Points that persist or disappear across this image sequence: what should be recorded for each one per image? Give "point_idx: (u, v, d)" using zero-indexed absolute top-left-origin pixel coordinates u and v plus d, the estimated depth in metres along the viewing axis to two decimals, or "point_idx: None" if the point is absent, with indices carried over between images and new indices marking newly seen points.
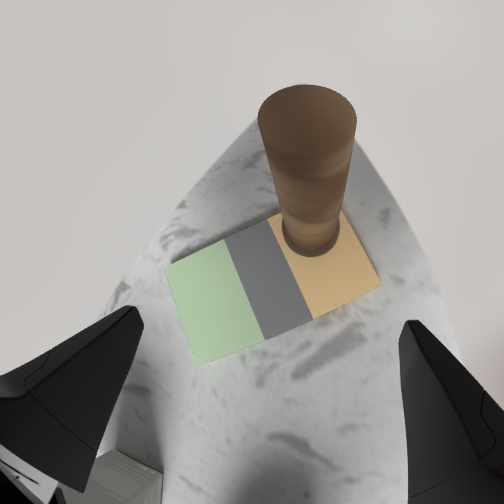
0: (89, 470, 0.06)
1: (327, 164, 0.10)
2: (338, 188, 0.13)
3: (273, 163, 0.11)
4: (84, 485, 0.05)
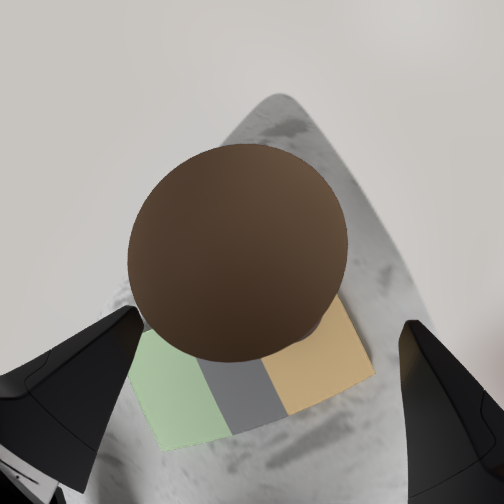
0: (88, 470, 0.06)
1: None
2: None
3: None
4: (84, 485, 0.05)
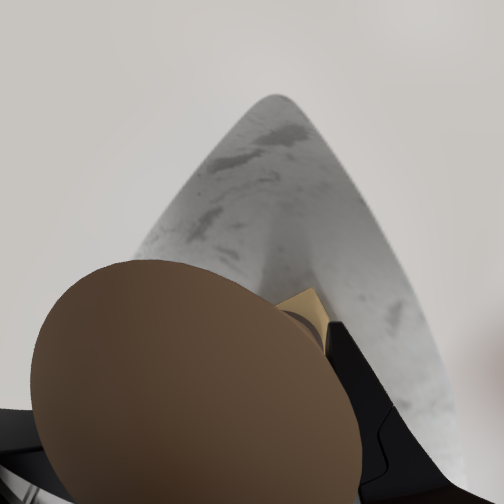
0: None
1: None
2: None
3: None
4: None
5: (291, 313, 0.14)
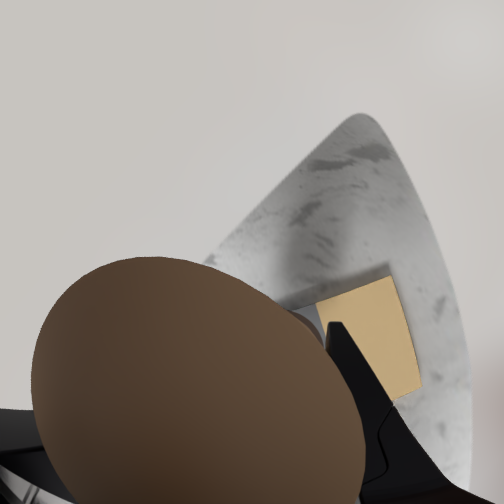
0: None
1: None
2: None
3: None
4: None
5: (292, 312, 0.14)
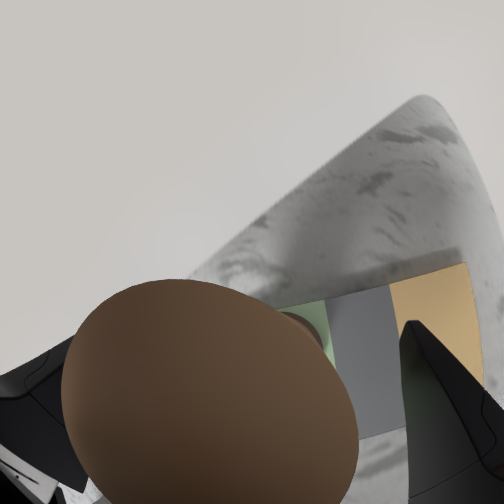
0: None
1: None
2: None
3: None
4: (84, 485, 0.05)
5: (292, 314, 0.14)
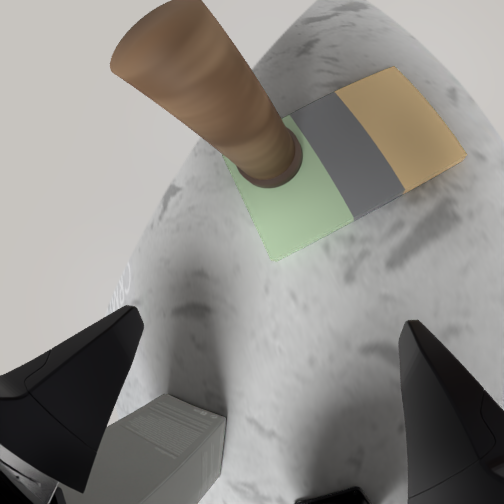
0: (89, 470, 0.06)
1: (188, 62, 0.07)
2: (238, 87, 0.09)
3: (147, 96, 0.08)
4: (84, 485, 0.05)
5: None
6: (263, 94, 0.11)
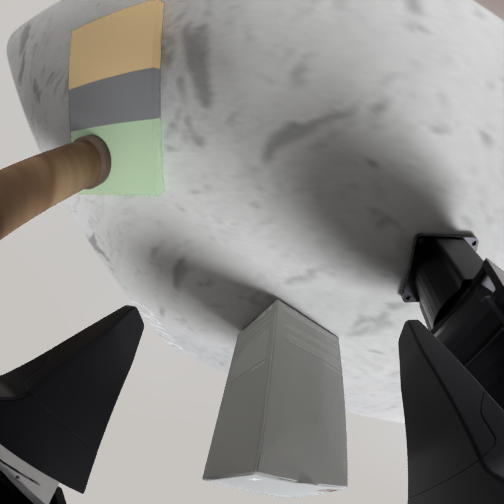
0: (89, 470, 0.06)
1: None
2: (13, 181, 0.11)
3: None
4: (84, 485, 0.05)
5: None
6: (29, 161, 0.12)
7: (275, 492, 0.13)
